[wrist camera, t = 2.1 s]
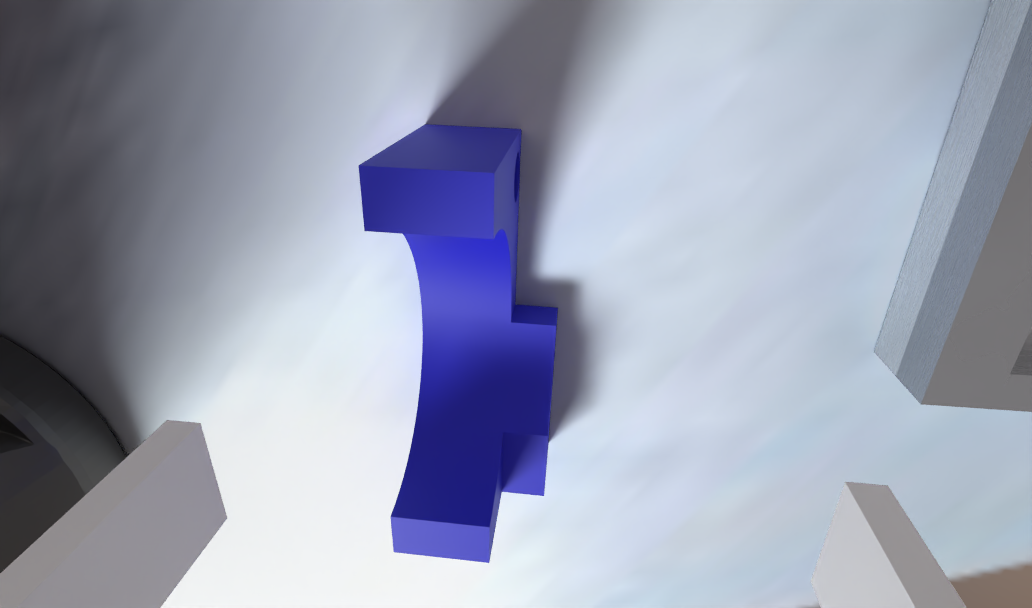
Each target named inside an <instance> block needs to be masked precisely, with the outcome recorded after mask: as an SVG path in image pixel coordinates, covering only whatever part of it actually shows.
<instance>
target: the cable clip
mask: <svg viewBox="0 0 1032 608" xmlns="http://www.w3.org/2000/svg"><path fill="white" fill-rule="evenodd" d="M520 153H521V129H510V128H489V127H469V126H448V125H428V124H425V125H423V126H422V127H420V128H419V129H417V130H415V131H414V132H412V133H411V134H409V135H407V136H406V137H404V138H402V139H401V140H399V141H398V142H396V143H394V144H393V145H391V146H390V147H388V148H386V149H385V150H383V151H381V152H380V153H378V154H377V155H375V156H373V157H372V158H370V159H368V160H367V161H365V162H364V163H362V164H360V165H359V174H360V185H361V196H362V207H363V218H364V229H365V231H374V232H389V233H403V235H404V236H405V238H406V240H407V242H408V244H409V246H410V249H411V251H412V254H413V257H414V261H415V264H416V269H417V273H418V279H419V285H420V293H421V304H422V321H423V351H422V370H421V383H420V393H419V401H418V409H417V416H416V422H415V428H414V434H413V439H412V444H411V449H410V453H409V458H408V462H407V466H406V470H405V474H404V478H403V481H402V485H401V488H400V491H399V494H398V497H397V501H396V504H395V506H394V509H393V512H392V514H391V526H392V537H393V548H394V552H398V553H407V554H416V555H425V556H433V557H442V558H451V559H460V560H469V561H478V562H487V563H489V560H490V555H491V549H492V543H493V538H494V532H495V526H496V521H497V515H498V509H499V504H500V498H501V492H511V493H521V494H531V495H540V496H544V488H545V477H546V465H547V453H548V441H549V427H550V413H551V398H552V384H553V370H554V356H555V342H556V327H557V313H558V308H556V307H542V306H529V305H515V302H516V272H517V242H518V212H519V183H520Z"/></svg>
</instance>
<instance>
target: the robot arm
mask: <svg viewBox="0 0 1032 608" xmlns="http://www.w3.org/2000/svg"><path fill="white" fill-rule="evenodd" d="M226 519H227V516H226V512H225V508H224V505H223V501H222V498H221V494H220V491H219V487H218V484H217V480H216V477H215V473H214V470H213V466H212V463H211V459H210V456H209V452H208V448H207V445H206V441H205V438H204V434H203V431H202V427H201V424H200V423H193V422H182V421H171V420H167V421H166V422H165V423H163V424H162V425H161V426H160V427H159V428H158V429H157V430H156V431H155V432H154V433H153V434H151V435H150V436H149V437H148V438H147V439H146V440H145V441H144V442H143V443H142V444H141V445H140V446H138V447H137V448H136V449H135V450H134V451H133V452H132V453H131V454H130V455H129V456H128V457H125V455H124V453H123V451H122V449H121V447H120V445H119V444H118V442H117V440H116V439H115V437H114V435H113V434H112V432H111V431H110V429H109V428H108V426H107V425H106V424H105V422H104V421H103V420H102V418H101V417H100V416H99V415H98V413H97V412H96V411H95V410H94V409H93V407H92V406H91V405H90V404H89V403H88V402H87V401H86V400H85V399H84V398H83V397H82V396H81V395H80V394H79V393H78V392H77V391H76V390H75V389H74V388H73V387H72V386H71V385H70V384H69V383H68V382H67V381H65V380H64V379H63V378H62V377H61V376H60V375H59V374H57V373H56V372H55V371H53V370H52V369H51V368H50V367H48V366H47V365H46V364H44V363H43V362H42V361H40V360H39V359H37V358H36V357H35V356H33V355H32V354H30V353H29V352H27V351H25V350H24V349H22V348H21V347H19V346H17V345H16V344H14V343H12V342H11V341H9V340H7V339H5V338H3V337H1V336H0V608H160V607H161V606H162V605H163V603H164V602H165V601H166V599H167V598H168V597H169V595H170V594H171V593H172V591H173V590H174V588H175V587H176V586H177V584H178V583H179V582H180V580H181V579H182V578H183V576H184V575H185V574H186V572H187V571H188V570H189V568H190V567H191V566H192V564H193V563H194V562H195V560H196V559H197V558H198V556H199V555H200V554H201V552H202V551H203V550H204V548H205V547H206V546H207V544H208V543H209V542H210V540H211V539H212V538H213V536H214V535H215V534H216V532H217V531H218V530H219V528H220V527H221V526H222V524H223V523H224V522H225V520H226ZM811 583H812V586H813V588H814V591H815V594H816V596H817V599H818V601H819V604H820V606H821V608H967V607H966V606H965V604H964V603H963V601H962V600H961V598H960V597H959V595H958V594H957V592H956V590H955V589H954V587H953V586H952V584H951V583H950V581H949V580H948V578H947V577H946V575H945V573H944V572H943V570H942V569H941V567H940V566H939V564H938V563H937V561H936V559H935V558H934V556H933V555H932V553H931V552H930V550H929V549H928V547H927V546H926V544H925V542H924V541H923V539H922V538H921V536H920V535H919V533H918V532H917V530H916V529H915V527H914V525H913V524H912V522H911V521H910V519H909V518H908V516H907V515H906V513H905V512H904V510H903V508H902V507H901V505H900V504H899V502H898V501H897V499H896V498H895V496H894V495H893V493H892V491H891V490H890V488H889V487H888V486H887V485H876V484H864V483H853V482H845V483H844V486H843V489H842V492H841V495H840V498H839V501H838V504H837V507H836V509H835V512H834V515H833V518H832V521H831V524H830V527H829V530H828V533H827V535H826V538H825V541H824V544H823V547H822V550H821V553H820V556H819V559H818V561H817V564H816V567H815V570H814V573H813V576H812V579H811Z"/></svg>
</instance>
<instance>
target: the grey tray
mask: <svg viewBox="0 0 1032 608" xmlns="http://www.w3.org/2000/svg"><path fill="white" fill-rule="evenodd" d="M874 353H875V354H876V355H877V356H878V357H879V358H880V359H881V360H882V361H883V363H884V364H885V365H886V366H887V367H888V368H889V369H890V370H891V371H892V373H893V374H894V375H895V376H896V377H897V378H898V379H899V380H900V382H901V383H902V384H903V385H904V386H905V387H906V388H907V389H908V390H909V392H910V393H911V394H912V395H913V396H914V397H915V398H916V399H917V400H918V402H919V403H920V404H926V405H940V406H955V407H970V408H984V409H999V410H1014V411H1028V412H1032V0H992V1H991V4H990V7H989V10H988V13H987V16H986V19H985V22H984V25H983V28H982V31H981V34H980V37H979V40H978V43H977V46H976V49H975V52H974V55H973V58H972V61H971V64H970V67H969V70H968V73H967V76H966V79H965V82H964V85H963V88H962V91H961V93H960V96H959V99H958V102H957V105H956V108H955V111H954V114H953V117H952V120H951V123H950V126H949V129H948V132H947V135H946V138H945V141H944V144H943V147H942V150H941V153H940V156H939V159H938V162H937V165H936V168H935V171H934V174H933V177H932V180H931V183H930V186H929V189H928V192H927V195H926V198H925V201H924V204H923V207H922V210H921V213H920V216H919V219H918V222H917V225H916V228H915V231H914V234H913V237H912V240H911V243H910V246H909V249H908V252H907V255H906V258H905V261H904V264H903V267H902V270H901V273H900V276H899V279H898V282H897V285H896V288H895V291H894V294H893V297H892V300H891V303H890V306H889V309H888V312H887V315H886V318H885V321H884V324H883V327H882V330H881V333H880V336H879V339H878V342H877V345H876V348H875V351H874Z"/></svg>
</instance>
